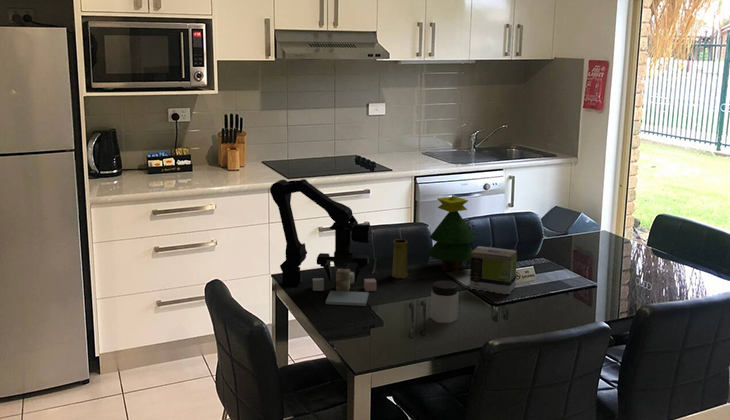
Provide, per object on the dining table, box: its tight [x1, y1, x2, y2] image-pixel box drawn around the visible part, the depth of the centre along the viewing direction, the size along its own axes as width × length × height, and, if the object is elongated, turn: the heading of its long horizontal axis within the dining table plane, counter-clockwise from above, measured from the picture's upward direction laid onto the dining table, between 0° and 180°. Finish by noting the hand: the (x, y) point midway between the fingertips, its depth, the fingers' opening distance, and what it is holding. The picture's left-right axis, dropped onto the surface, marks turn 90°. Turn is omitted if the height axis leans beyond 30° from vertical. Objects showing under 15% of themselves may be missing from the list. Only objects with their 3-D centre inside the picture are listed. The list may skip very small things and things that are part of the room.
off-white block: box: [312, 277, 325, 292], centre depth 272 cm, size 4×4×4 cm
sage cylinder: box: [350, 271, 355, 285], centre depth 280 cm, size 4×4×4 cm
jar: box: [429, 280, 459, 324], centre depth 244 cm, size 9×8×12 cm
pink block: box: [363, 278, 377, 292], centre depth 272 cm, size 4×4×4 cm
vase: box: [391, 238, 409, 279], centre depth 286 cm, size 6×6×14 cm
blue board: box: [325, 290, 370, 307], centre depth 262 cm, size 14×11×1 cm
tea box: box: [469, 245, 518, 295], centre depth 272 cm, size 15×10×15 cm
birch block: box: [335, 268, 351, 292], centre depth 272 cm, size 4×4×7 cm
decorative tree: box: [427, 195, 477, 272], centre depth 293 cm, size 19×19×30 cm
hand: (342, 281), depth 272 cm, fingers open, 9 cm apart
